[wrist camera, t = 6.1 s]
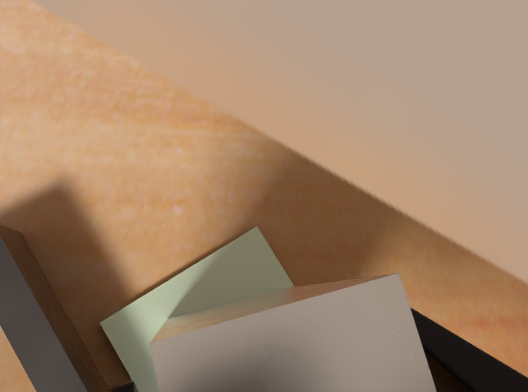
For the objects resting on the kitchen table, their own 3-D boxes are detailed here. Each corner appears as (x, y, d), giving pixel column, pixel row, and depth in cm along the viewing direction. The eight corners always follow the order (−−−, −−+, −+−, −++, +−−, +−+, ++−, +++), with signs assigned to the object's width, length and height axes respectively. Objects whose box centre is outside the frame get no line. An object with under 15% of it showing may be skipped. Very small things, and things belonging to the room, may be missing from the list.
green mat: (358, 394, 17) (362, 396, 17) (211, 514, 15) (212, 519, 15) (255, 227, 18) (257, 226, 17) (101, 321, 16) (99, 322, 15)
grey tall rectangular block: (305, 402, 16) (484, 545, 7) (192, 441, 15) (214, 676, 6) (276, 288, 17) (399, 273, 8) (167, 318, 16) (150, 343, 6)
